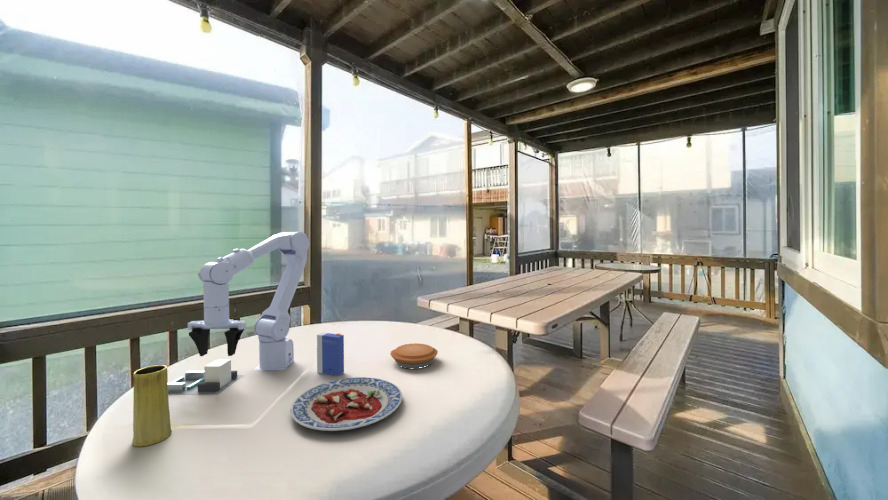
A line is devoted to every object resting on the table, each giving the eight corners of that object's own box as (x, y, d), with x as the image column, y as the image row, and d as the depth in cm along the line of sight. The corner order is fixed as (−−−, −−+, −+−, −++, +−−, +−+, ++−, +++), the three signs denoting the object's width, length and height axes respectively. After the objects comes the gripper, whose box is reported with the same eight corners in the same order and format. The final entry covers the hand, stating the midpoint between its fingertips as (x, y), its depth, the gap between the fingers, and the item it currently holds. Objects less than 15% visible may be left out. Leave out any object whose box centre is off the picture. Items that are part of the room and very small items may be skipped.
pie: (446, 360, 113) (446, 345, 113) (419, 376, 100) (419, 359, 100) (410, 351, 122) (410, 338, 122) (380, 365, 109) (380, 350, 108)
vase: (178, 432, 71) (176, 366, 70) (144, 450, 65) (142, 377, 65) (159, 427, 73) (157, 362, 72) (124, 443, 67) (122, 373, 67)
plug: (231, 380, 95) (230, 359, 95) (220, 388, 90) (219, 366, 90) (217, 380, 95) (216, 359, 95) (204, 388, 90) (204, 366, 90)
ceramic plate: (294, 454, 64) (294, 438, 64) (287, 397, 87) (287, 386, 87) (418, 420, 76) (418, 407, 76) (384, 378, 99) (384, 368, 99)
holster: (237, 377, 98) (237, 370, 97) (217, 391, 89) (216, 384, 88) (219, 377, 97) (219, 370, 97) (197, 391, 88) (197, 384, 88)
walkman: (344, 372, 103) (343, 333, 102) (338, 376, 100) (338, 336, 100) (323, 369, 105) (322, 331, 105) (316, 372, 103) (316, 333, 102)
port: (209, 377, 97) (209, 370, 97) (186, 391, 88) (186, 384, 88) (184, 377, 97) (184, 371, 97) (158, 392, 88) (158, 384, 88)
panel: (243, 377, 99) (243, 375, 99) (217, 396, 87) (217, 394, 87) (188, 377, 99) (188, 375, 99) (154, 397, 87) (154, 394, 87)
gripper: (178, 309, 88) (179, 360, 88) (234, 309, 88) (235, 360, 89) (197, 303, 95) (198, 351, 96) (249, 303, 95) (250, 351, 96)
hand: (217, 354), depth 93 cm, fingers open, 7 cm apart
